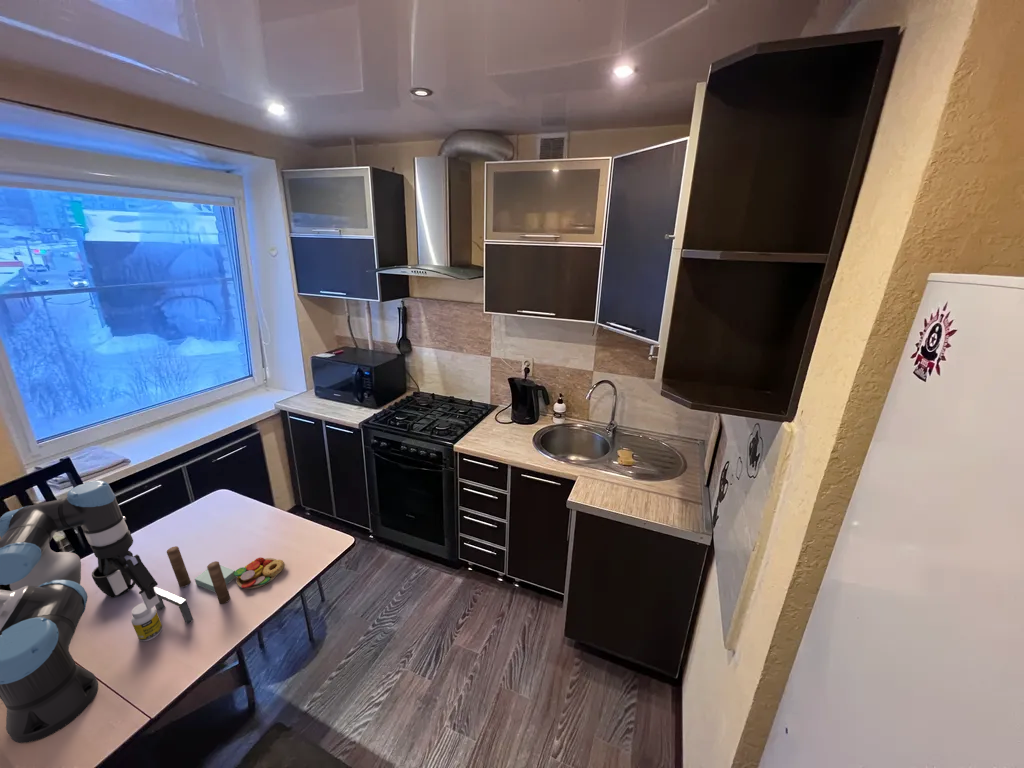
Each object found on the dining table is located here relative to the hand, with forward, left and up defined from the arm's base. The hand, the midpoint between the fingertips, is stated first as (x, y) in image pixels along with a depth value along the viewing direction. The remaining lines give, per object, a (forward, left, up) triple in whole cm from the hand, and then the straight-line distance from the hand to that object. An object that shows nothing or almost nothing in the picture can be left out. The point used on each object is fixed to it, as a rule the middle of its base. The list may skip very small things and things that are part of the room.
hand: (137, 598), depth 116 cm
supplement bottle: (0, 0, -14) cm, 14 cm away
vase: (-3, +36, -14) cm, 39 cm away
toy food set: (+26, -11, -14) cm, 32 cm away
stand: (+20, +1, -13) cm, 24 cm away
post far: (+15, +9, -13) cm, 22 cm away
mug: (+7, +24, -14) cm, 29 cm away
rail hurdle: (+6, 0, -13) cm, 15 cm away
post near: (+15, -9, -13) cm, 22 cm away
